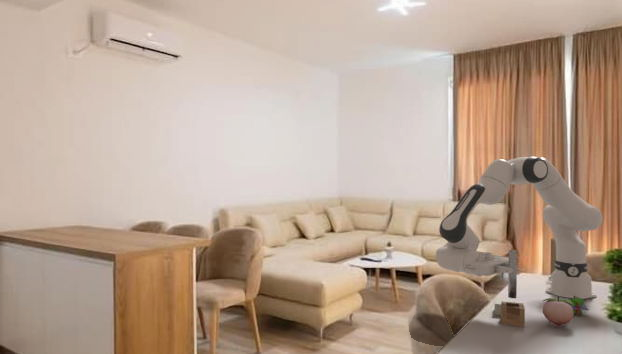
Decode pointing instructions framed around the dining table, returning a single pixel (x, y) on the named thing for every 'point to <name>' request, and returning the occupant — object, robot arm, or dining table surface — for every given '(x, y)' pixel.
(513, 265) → the pin gauge
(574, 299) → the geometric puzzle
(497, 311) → the block
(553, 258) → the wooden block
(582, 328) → the dining table surface
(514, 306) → the brown cube-like block
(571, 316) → the decorative fruit
